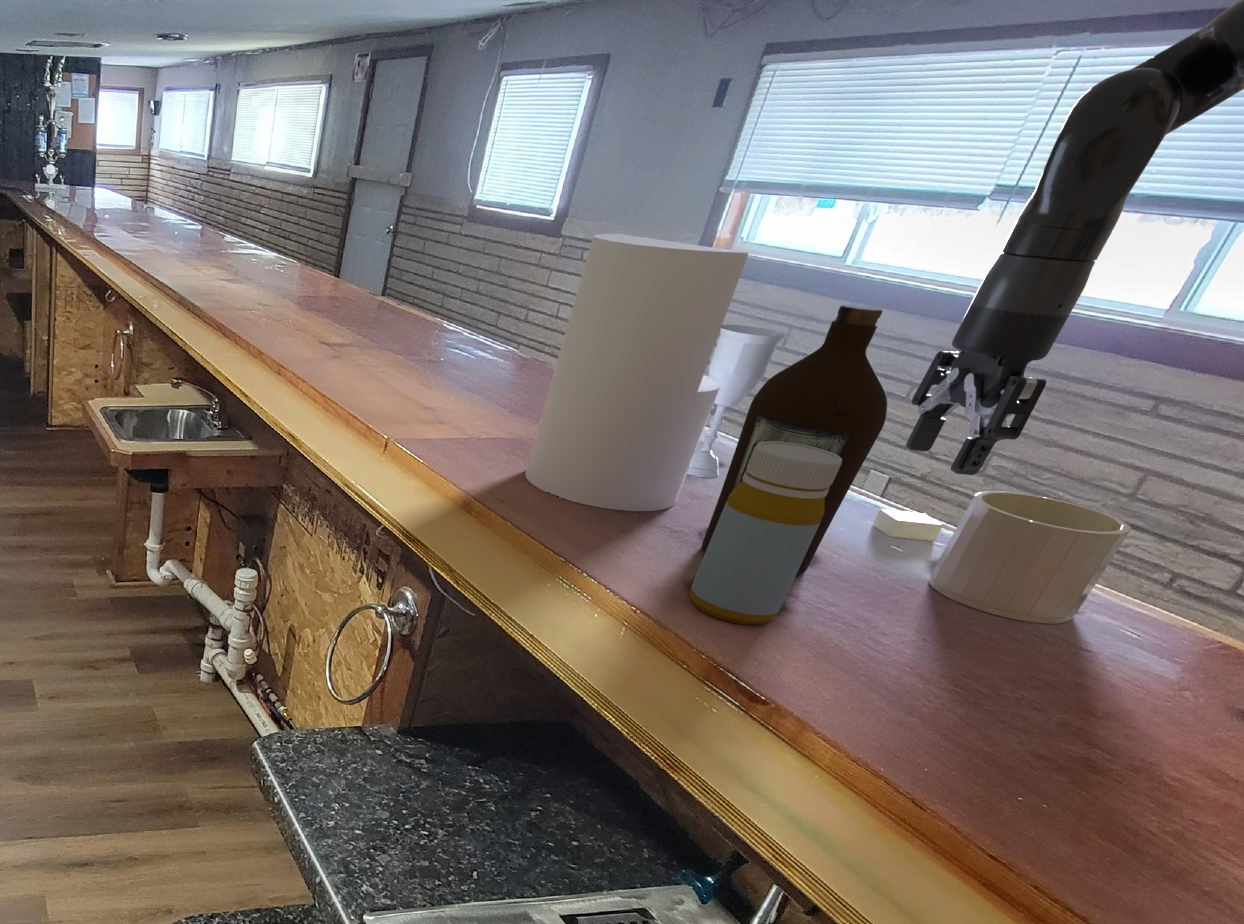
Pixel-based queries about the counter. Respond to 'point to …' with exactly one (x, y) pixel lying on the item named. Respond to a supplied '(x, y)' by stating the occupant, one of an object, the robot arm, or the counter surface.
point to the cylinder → (634, 373)
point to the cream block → (907, 525)
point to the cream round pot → (1027, 556)
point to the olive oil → (818, 411)
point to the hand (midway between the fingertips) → (938, 461)
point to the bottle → (764, 532)
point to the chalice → (733, 381)
